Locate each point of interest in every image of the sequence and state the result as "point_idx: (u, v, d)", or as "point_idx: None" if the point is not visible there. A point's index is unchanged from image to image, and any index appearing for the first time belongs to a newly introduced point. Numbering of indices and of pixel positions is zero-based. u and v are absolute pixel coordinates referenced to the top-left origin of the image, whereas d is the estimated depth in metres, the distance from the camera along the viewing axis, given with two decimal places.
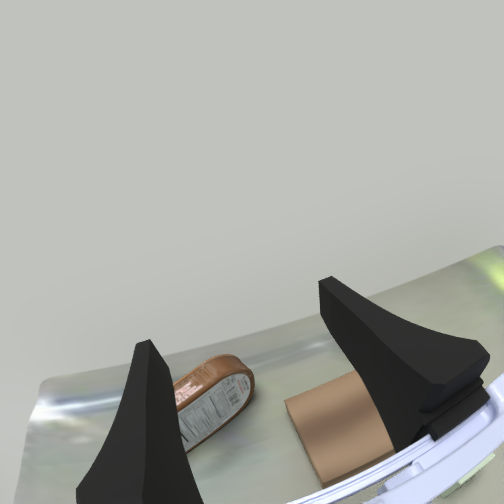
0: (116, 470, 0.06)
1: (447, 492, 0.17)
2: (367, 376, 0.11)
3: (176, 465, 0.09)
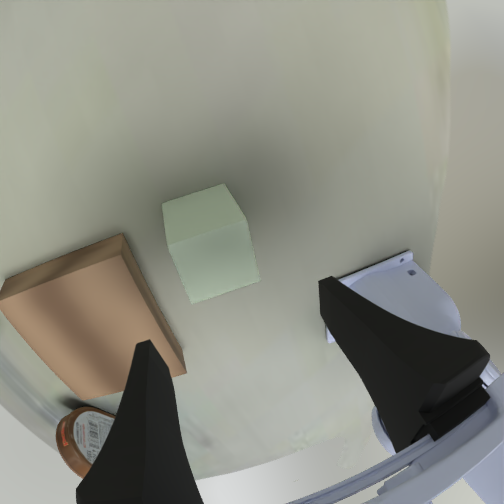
0: (116, 470, 0.06)
1: None
2: (367, 376, 0.11)
3: (176, 465, 0.09)
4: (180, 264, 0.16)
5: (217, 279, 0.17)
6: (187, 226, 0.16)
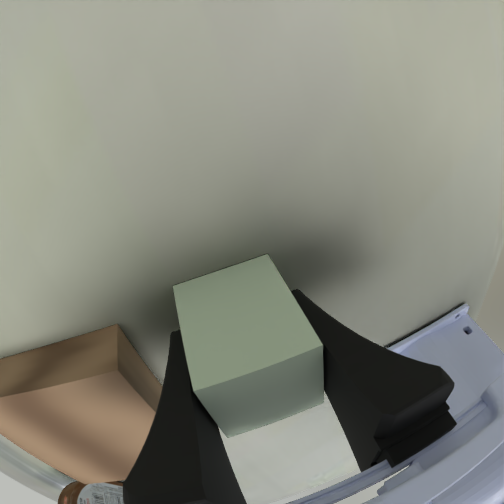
0: (167, 462, 0.07)
1: None
2: (331, 393, 0.11)
3: (219, 454, 0.09)
4: (215, 407, 0.09)
5: (266, 412, 0.11)
6: (222, 349, 0.10)
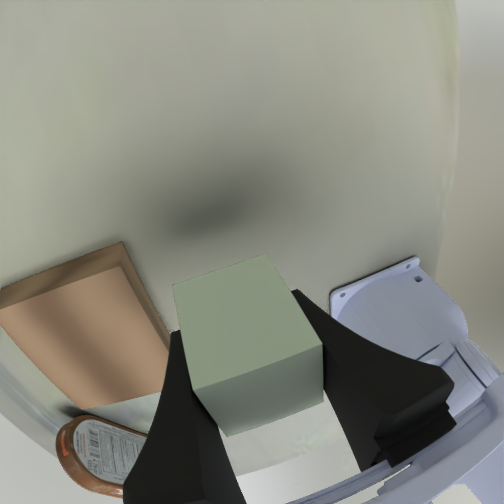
0: (167, 461, 0.07)
1: None
2: (330, 393, 0.11)
3: (219, 454, 0.09)
4: (214, 406, 0.09)
5: (266, 411, 0.11)
6: (221, 348, 0.10)
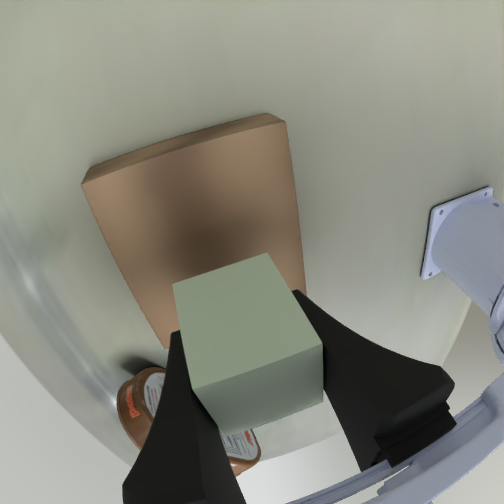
0: (167, 461, 0.07)
1: None
2: (331, 393, 0.11)
3: (219, 454, 0.09)
4: (213, 405, 0.09)
5: (265, 411, 0.11)
6: (222, 347, 0.10)
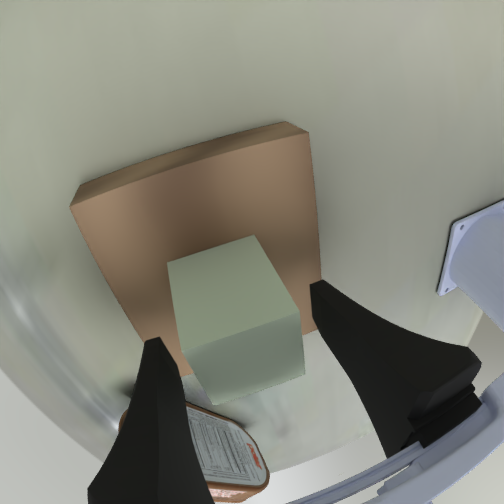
0: (129, 469, 0.06)
1: None
2: (358, 380, 0.11)
3: (187, 462, 0.09)
4: (201, 369, 0.11)
5: (250, 380, 0.12)
6: (209, 314, 0.11)
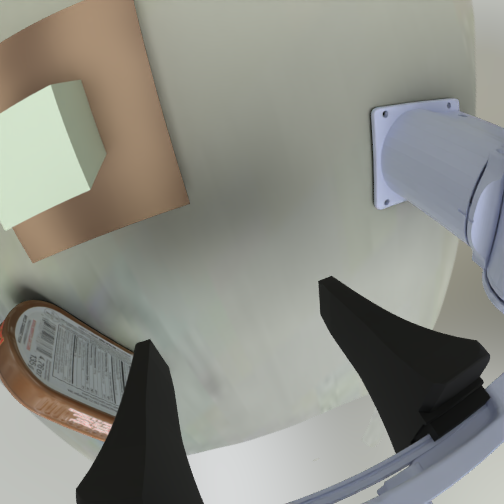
0: (116, 470, 0.06)
1: None
2: (367, 376, 0.11)
3: (176, 465, 0.09)
4: None
5: (26, 188, 0.09)
6: None
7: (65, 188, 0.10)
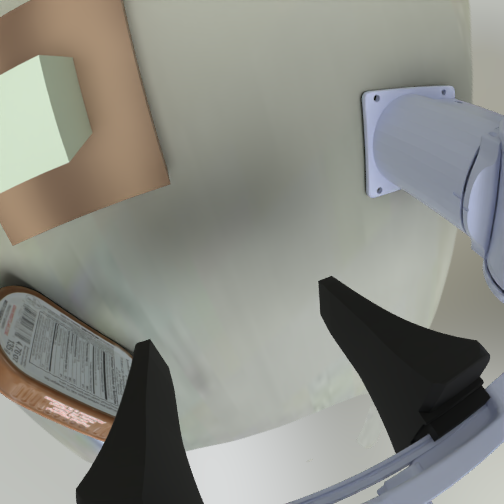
0: (116, 470, 0.06)
1: None
2: (367, 376, 0.11)
3: (176, 465, 0.09)
4: None
5: (7, 158, 0.08)
6: None
7: (45, 159, 0.09)
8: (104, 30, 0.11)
